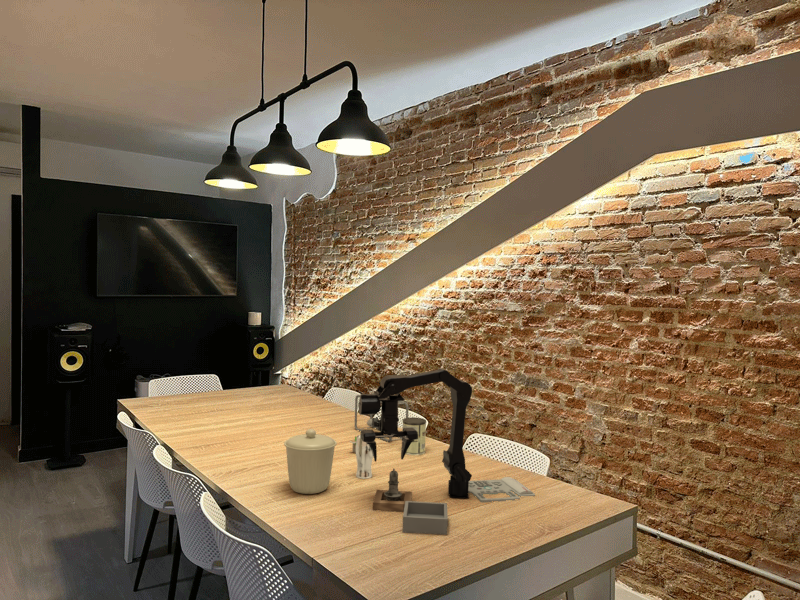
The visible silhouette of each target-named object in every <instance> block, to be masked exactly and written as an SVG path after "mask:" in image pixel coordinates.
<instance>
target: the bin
mask: <svg viewBox="0 0 800 600" xmlns="http://www.w3.org/2000/svg"><path fill="white" fill-rule="evenodd" d="M402 513H403V514H402V533H407V534H408V533H410V534H411V533H412V534H425V535H427V534H428V535H442V536H443V535H444V536H445V535H446V536H448V524H449V523H448V522H449V520H448V519H449V518H448V516H449V515H448V503H447V502H432V501H431V502H430V501H416V500H415V501H414V500H412V501H405V507H404V512H402Z"/></svg>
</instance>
